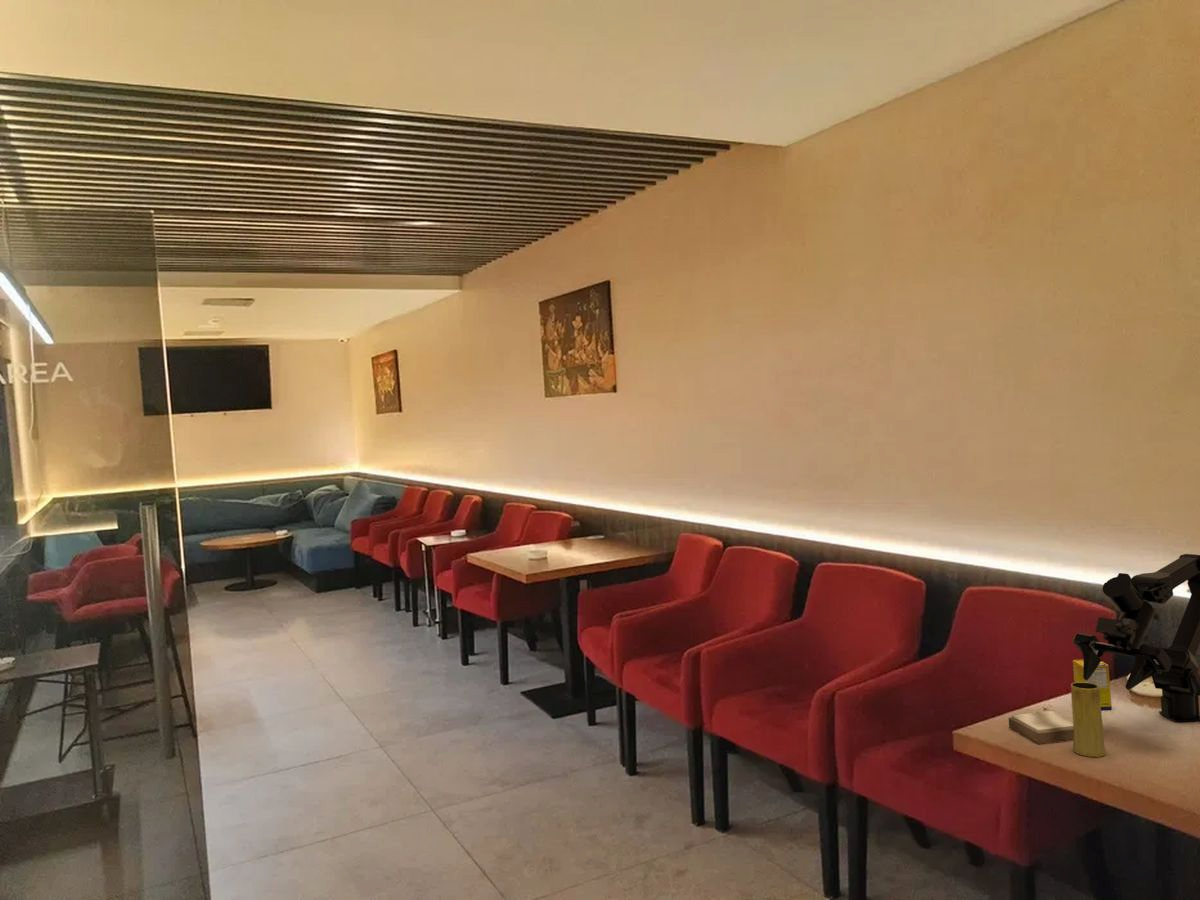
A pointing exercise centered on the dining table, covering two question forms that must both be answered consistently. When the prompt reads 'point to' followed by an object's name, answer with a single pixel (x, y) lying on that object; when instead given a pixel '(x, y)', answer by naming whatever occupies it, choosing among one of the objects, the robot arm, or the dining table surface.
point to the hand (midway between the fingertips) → (1105, 683)
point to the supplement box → (1096, 681)
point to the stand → (1042, 727)
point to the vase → (1087, 720)
